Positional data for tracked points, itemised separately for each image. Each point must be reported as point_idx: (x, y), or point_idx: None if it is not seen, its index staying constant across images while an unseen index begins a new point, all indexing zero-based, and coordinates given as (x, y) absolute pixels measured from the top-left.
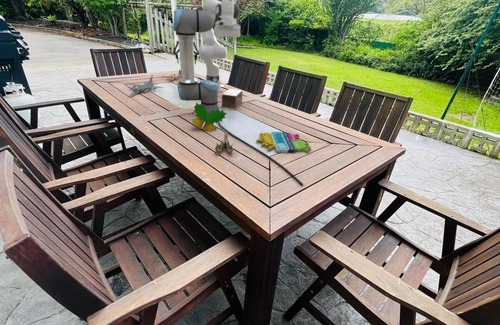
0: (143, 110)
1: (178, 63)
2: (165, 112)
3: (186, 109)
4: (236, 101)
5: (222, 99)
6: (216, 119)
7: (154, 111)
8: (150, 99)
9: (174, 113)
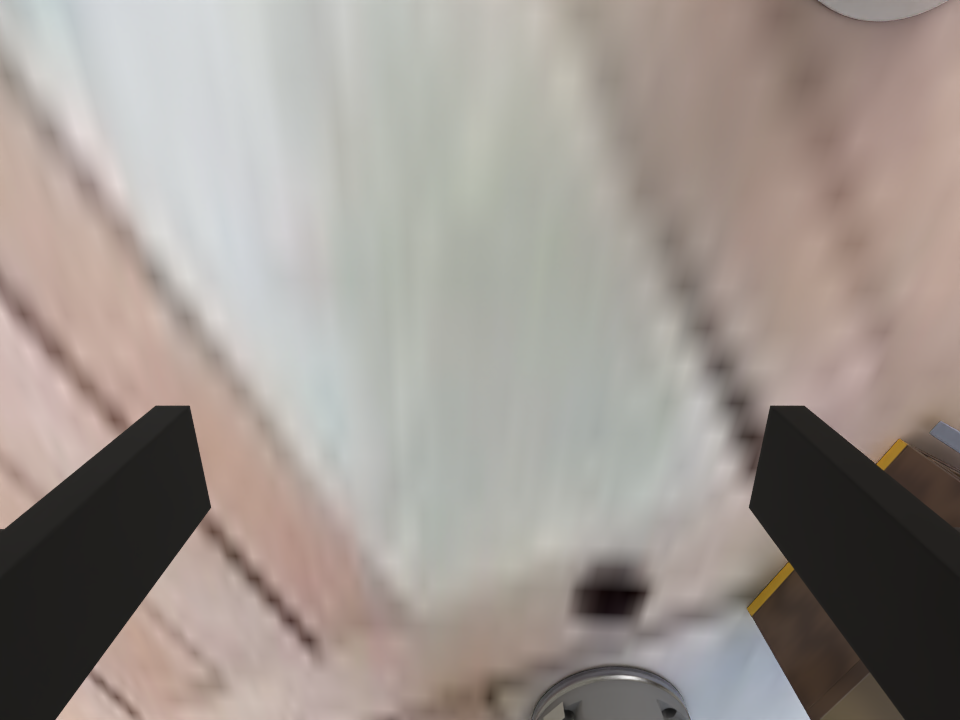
0: None
1: (206, 506)
2: (292, 671)
3: (447, 623)
4: None
5: (790, 679)
6: None
7: (207, 650)
8: (64, 345)
9: (359, 690)
